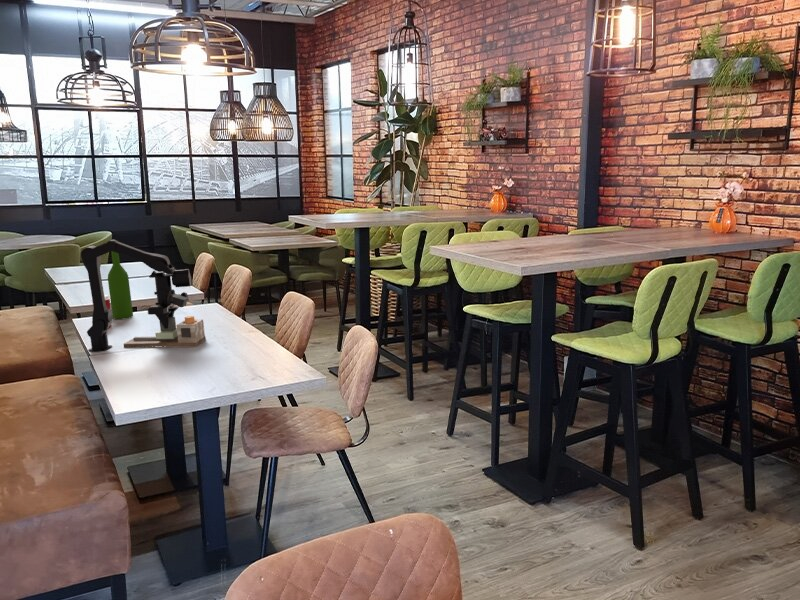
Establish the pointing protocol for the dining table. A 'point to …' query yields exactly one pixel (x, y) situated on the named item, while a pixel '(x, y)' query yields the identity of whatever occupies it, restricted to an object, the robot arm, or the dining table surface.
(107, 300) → the paper cup
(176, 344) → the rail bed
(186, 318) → the button
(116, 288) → the wine bottle
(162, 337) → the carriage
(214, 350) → the dining table surface
